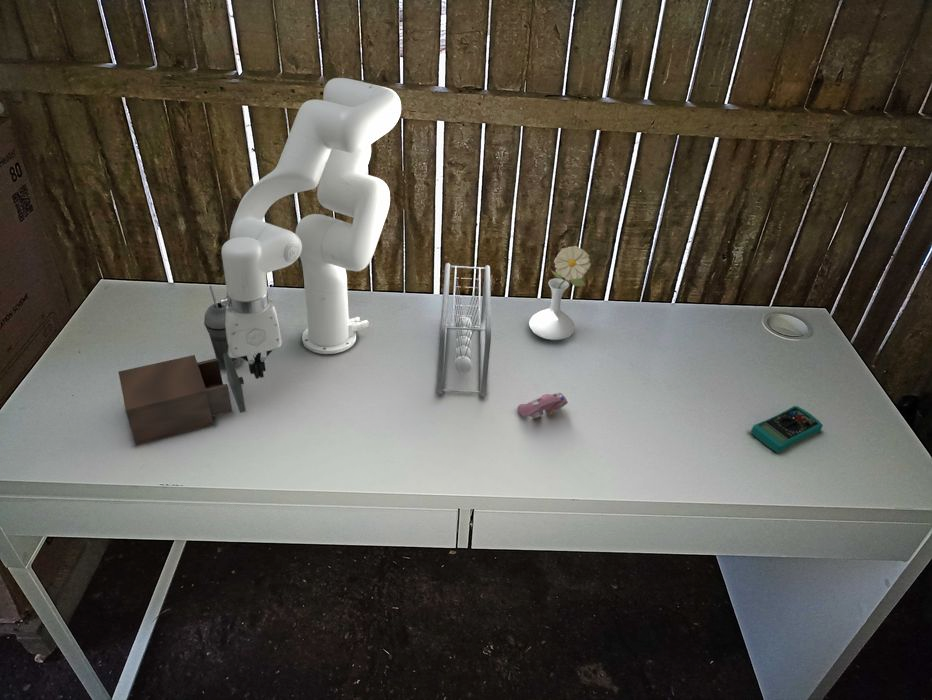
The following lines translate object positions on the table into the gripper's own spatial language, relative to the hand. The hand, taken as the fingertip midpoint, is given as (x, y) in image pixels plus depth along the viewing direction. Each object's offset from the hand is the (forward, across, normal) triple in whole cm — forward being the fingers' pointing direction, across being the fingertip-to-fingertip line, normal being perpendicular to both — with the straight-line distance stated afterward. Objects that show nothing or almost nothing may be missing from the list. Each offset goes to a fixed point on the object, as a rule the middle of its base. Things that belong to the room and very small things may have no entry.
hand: (258, 374), depth 150 cm
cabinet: (+6, -18, 0) cm, 19 cm away
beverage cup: (+6, -4, +13) cm, 15 cm away
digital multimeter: (+5, +97, -56) cm, 112 cm away
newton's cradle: (+5, +46, -5) cm, 46 cm away
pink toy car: (+5, +52, -30) cm, 60 cm away
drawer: (+5, -10, 0) cm, 11 cm away
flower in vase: (+5, +72, -5) cm, 72 cm away
